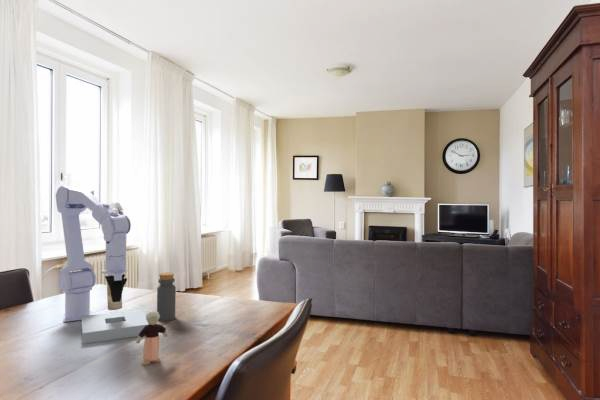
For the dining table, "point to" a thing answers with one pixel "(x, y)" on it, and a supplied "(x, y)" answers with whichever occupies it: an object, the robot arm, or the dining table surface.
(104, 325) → the socket block
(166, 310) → the bottle
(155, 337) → the grandmother figurine
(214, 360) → the dining table surface
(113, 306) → the peg
